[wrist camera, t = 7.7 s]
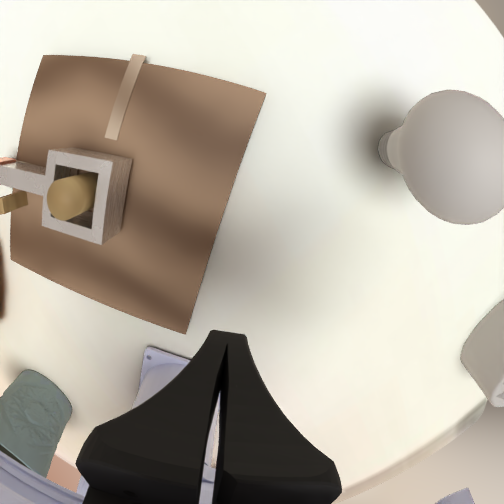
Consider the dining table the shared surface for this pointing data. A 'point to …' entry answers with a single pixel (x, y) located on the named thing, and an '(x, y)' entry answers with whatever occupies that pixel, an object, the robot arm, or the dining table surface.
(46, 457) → the embossed teal cup
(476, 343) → the lumpy-topped squat cylinder
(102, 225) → the square frame with handle
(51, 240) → the socket base
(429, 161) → the lightbulb
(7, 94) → the dining table surface
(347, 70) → the dining table surface
